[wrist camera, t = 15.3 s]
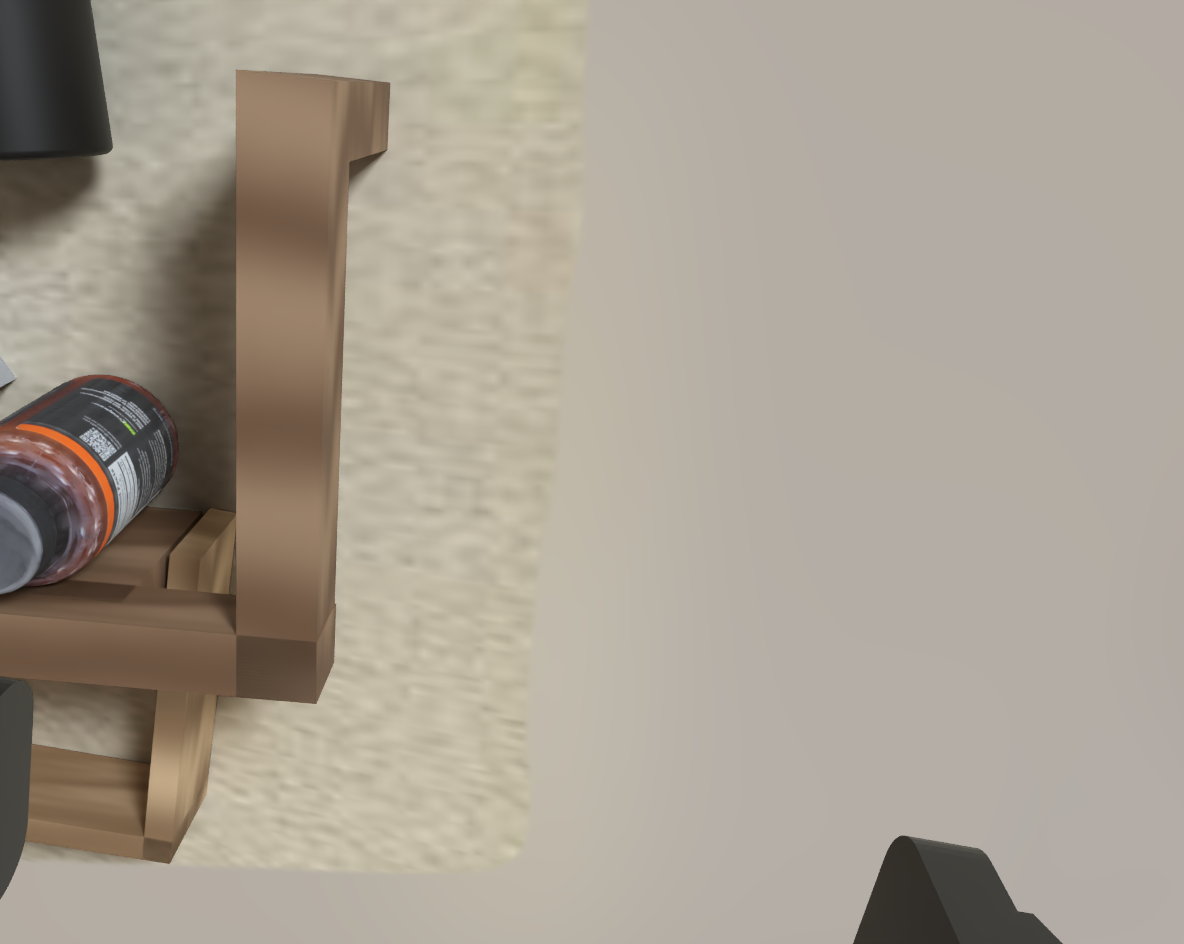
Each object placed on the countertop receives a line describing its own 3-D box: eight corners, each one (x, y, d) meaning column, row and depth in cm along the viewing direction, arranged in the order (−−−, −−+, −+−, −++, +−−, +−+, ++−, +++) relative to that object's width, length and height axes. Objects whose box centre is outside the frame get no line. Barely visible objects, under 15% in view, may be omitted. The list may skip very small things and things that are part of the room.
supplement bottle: (31, 476, 47) (-130, 590, 36) (58, 350, 45) (-103, 431, 34) (166, 520, 48) (48, 644, 37) (199, 398, 46) (84, 492, 35)
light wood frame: (-52, 458, 47) (-122, 500, 42) (237, 513, 48) (200, 559, 43) (-56, 750, 51) (-120, 817, 47) (206, 794, 52) (169, 863, 48)
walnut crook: (-17, 35, 41) (-206, 18, 31) (391, 82, 42) (333, 80, 32) (20, 546, 48) (-125, 665, 38) (369, 578, 49) (316, 703, 39)
